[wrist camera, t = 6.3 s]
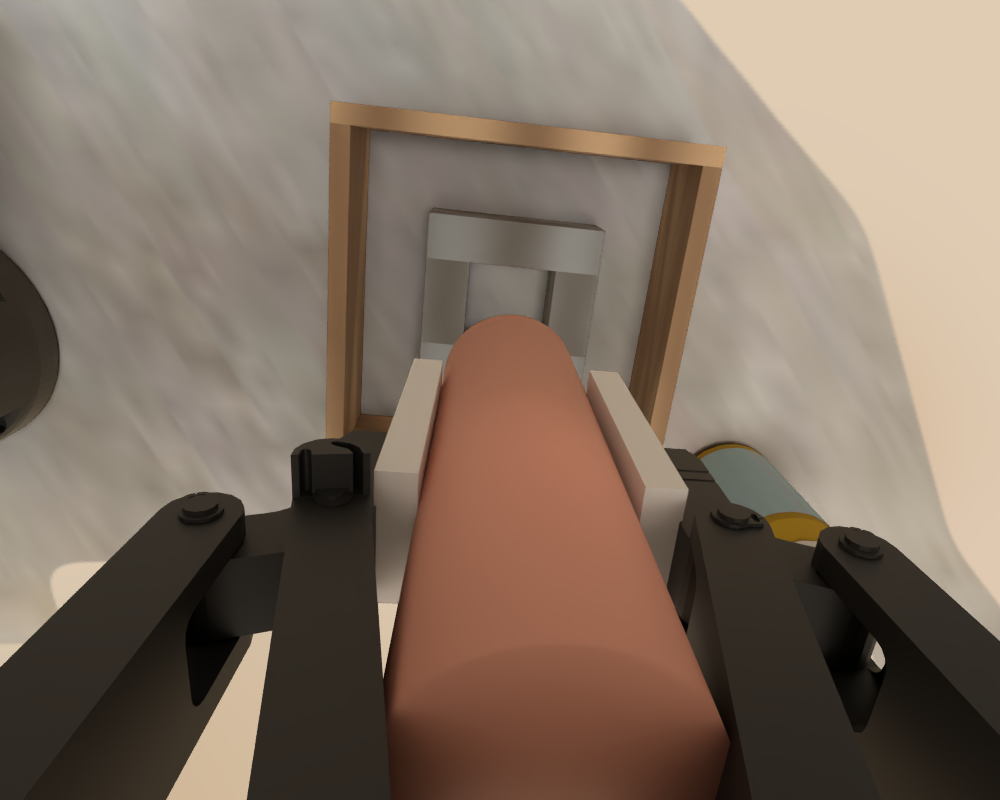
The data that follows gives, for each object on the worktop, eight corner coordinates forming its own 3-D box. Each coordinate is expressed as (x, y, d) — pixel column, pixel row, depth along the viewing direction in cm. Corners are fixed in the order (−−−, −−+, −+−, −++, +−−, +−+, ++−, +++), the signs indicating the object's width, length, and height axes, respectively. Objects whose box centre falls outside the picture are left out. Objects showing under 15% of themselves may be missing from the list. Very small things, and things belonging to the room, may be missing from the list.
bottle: (692, 431, 45) (786, 555, 31) (785, 451, 46) (918, 581, 32) (660, 516, 48) (735, 667, 33) (749, 533, 48) (859, 689, 34)
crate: (345, 426, 44) (325, 465, 39) (353, 108, 37) (330, 100, 32) (631, 451, 46) (652, 492, 40) (691, 148, 39) (726, 147, 33)
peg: (441, 432, 21) (363, 908, 8) (447, 310, 19) (364, 634, 6) (565, 440, 21) (698, 918, 8) (580, 319, 19) (771, 654, 6)
